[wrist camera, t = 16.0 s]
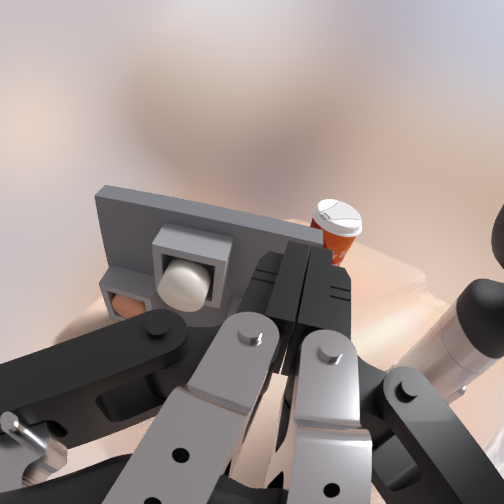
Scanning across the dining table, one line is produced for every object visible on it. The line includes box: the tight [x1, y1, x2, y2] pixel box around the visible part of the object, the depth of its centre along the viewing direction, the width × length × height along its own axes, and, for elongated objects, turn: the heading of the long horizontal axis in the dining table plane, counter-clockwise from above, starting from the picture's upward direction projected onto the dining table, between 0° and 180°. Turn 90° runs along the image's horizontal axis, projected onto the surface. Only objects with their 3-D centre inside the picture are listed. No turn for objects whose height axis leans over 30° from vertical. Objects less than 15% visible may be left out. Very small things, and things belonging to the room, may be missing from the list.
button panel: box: [95, 185, 323, 327], centre depth 31 cm, size 6×21×20 cm, turn 81°
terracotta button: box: [112, 294, 146, 319], centre depth 31 cm, size 2×4×4 cm, turn 81°
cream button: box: [158, 258, 211, 312], centre depth 24 cm, size 2×4×4 cm, turn 81°
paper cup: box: [310, 199, 362, 267], centre depth 45 cm, size 8×8×14 cm
